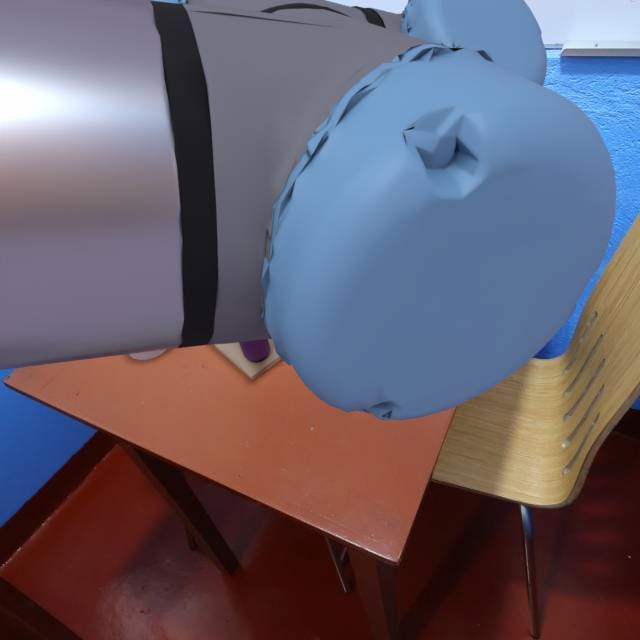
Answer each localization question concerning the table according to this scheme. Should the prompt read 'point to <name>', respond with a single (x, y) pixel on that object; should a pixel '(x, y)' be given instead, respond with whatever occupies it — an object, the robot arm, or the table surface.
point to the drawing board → (246, 366)
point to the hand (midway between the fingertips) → (269, 271)
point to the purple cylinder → (255, 349)
